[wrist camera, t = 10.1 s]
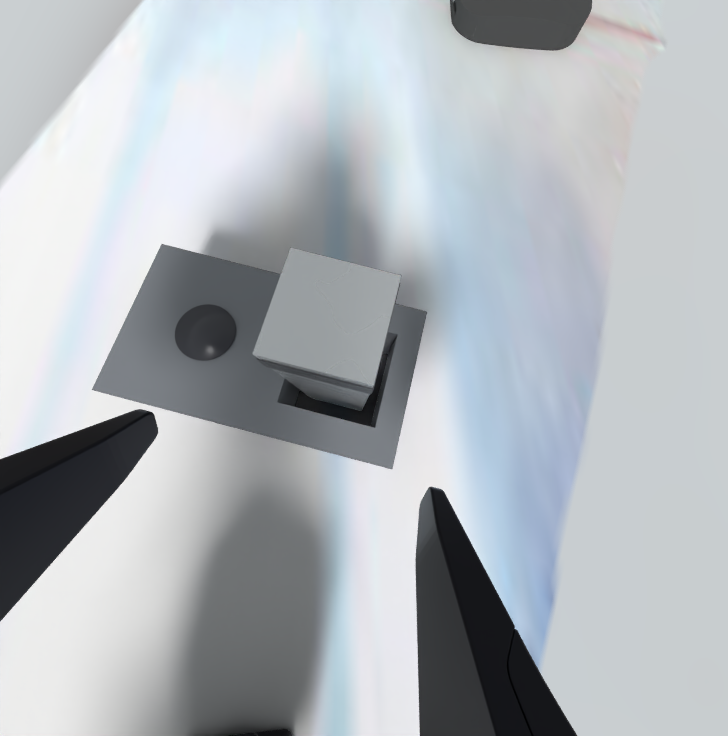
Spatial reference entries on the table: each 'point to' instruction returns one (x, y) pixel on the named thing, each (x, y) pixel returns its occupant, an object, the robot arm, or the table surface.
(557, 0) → the media streaming box
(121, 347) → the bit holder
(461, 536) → the robot arm
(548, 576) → the table surface
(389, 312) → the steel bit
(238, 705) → the table surface
